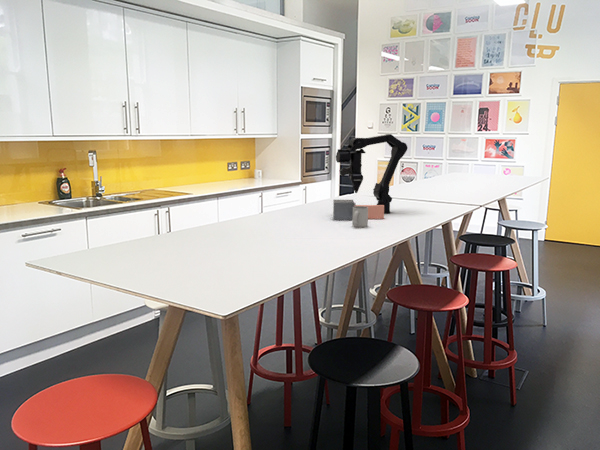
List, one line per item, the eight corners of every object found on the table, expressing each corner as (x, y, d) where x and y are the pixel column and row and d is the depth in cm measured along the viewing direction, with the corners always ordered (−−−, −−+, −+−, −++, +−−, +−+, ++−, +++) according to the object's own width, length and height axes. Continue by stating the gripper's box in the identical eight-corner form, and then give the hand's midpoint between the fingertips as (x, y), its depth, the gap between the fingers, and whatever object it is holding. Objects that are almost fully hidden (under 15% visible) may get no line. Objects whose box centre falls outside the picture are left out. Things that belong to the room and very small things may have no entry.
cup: (370, 225, 240) (370, 207, 238) (361, 229, 232) (361, 210, 230) (356, 224, 244) (356, 205, 242) (347, 227, 236) (347, 208, 234)
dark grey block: (354, 216, 262) (354, 199, 260) (355, 220, 253) (356, 202, 251) (333, 216, 263) (333, 199, 261) (333, 220, 253) (333, 202, 251)
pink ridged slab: (383, 217, 258) (383, 205, 257) (383, 218, 256) (384, 205, 254) (349, 217, 259) (350, 204, 257) (350, 218, 256) (350, 205, 255)
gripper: (339, 160, 274) (339, 189, 277) (341, 163, 255) (341, 194, 258) (360, 160, 273) (359, 189, 276) (363, 163, 255) (362, 194, 258)
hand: (355, 191), depth 267 cm, fingers open, 9 cm apart
